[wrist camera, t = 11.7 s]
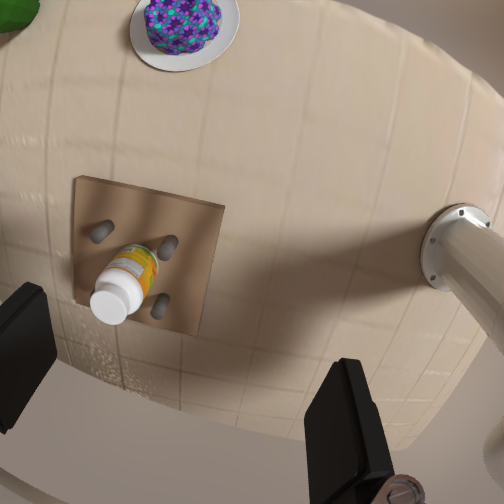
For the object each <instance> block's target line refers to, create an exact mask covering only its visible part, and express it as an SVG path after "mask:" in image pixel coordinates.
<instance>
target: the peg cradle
mask: <svg viewBox="0 0 504 504" xmlns="http://www.w3.org/2000/svg"><path fill="white" fill-rule="evenodd" d="M224 209H225V206H224V205H219V204H215V203H211V202H206V201H202V200H198V199H193V198H189V197H184V196H180V195H176V194H171V193H166V192H162V191H157V190H153V189H148V188H143V187H138V186H134V185H129V184H124V183H119V182H114V181H109V180H104V179H99V178H94V177H89V176H84V175H82V176H80V177H77V178H76V189H75V207H74V276H75V295H76V303H78V304H81V305H84V306H87V307H90V308H91V306H90V299H91V296H92V295H93V293H94V292H95V284H96V281H97V278H98V277H99V275H100V274H101V273H102V272H103V270H104V269H105V268H106V267H107V266H108V265H109V263H110V262H111V261H112V260H113V259H114V257H115V256H116V255H117V254H118V253H119V252H120V251H121V250H122V249H123V248H124V247H126V246H128V245H132V244H137V245H142V246H144V247H146V248H148V249H149V250H150V251H151V252H152V253H153V254H154V255H155V257H156V259H157V262H158V274H157V276H156V278H155V280H154V282H153V284H152V285H151V287H150V289H149V291H148V293H147V294H146V296H145V298H144V300H143V302H142V304H141V305H140V307H139V308H138V309H137V310H136V311H135V312H134V313H132V314H129V315H127V316H126V319H130V320H133V321H137V322H140V323H144V324H148V325H151V326H155V327H159V328H163V329H167V330H170V331H174V332H178V333H182V334H187V335H191V336H195V337H197V333H198V329H199V324H200V319H201V314H202V309H203V304H204V299H205V295H206V290H207V285H208V280H209V276H210V271H211V266H212V262H213V257H214V253H215V248H216V244H217V239H218V235H219V230H220V226H221V222H222V217H223V213H224Z"/></svg>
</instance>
